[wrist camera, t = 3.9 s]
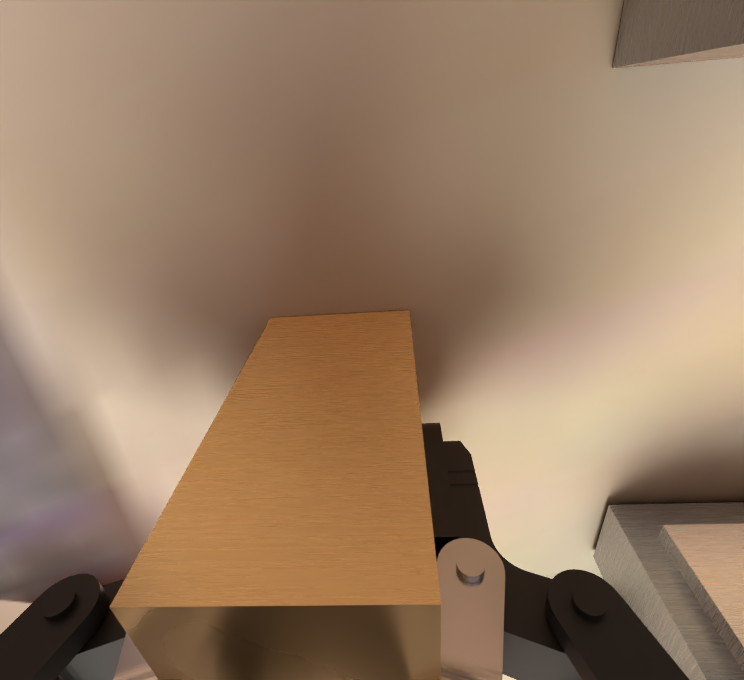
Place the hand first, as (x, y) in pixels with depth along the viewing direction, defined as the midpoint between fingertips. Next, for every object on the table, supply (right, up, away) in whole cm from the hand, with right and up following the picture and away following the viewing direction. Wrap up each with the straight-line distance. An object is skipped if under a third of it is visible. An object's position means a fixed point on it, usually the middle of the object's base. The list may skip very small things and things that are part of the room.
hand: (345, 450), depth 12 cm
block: (0, +1, +2) cm, 2 cm away
